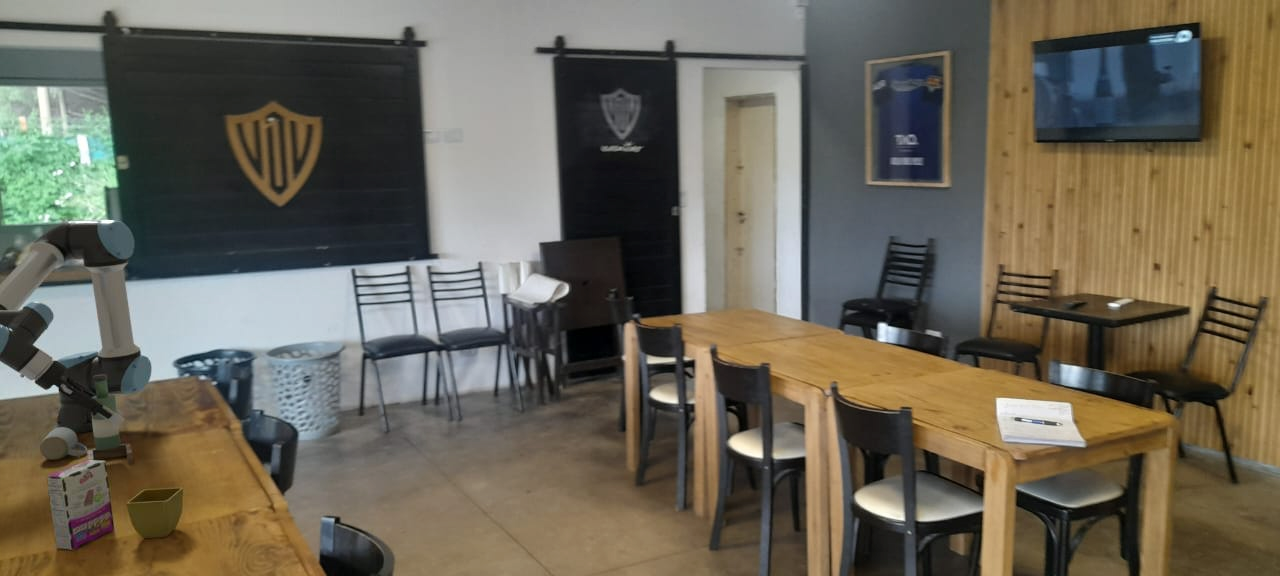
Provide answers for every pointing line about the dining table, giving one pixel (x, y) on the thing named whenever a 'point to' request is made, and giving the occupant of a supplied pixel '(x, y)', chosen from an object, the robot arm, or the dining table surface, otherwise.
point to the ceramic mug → (61, 444)
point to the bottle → (102, 429)
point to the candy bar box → (80, 504)
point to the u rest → (112, 453)
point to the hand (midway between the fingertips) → (120, 420)
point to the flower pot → (156, 511)
